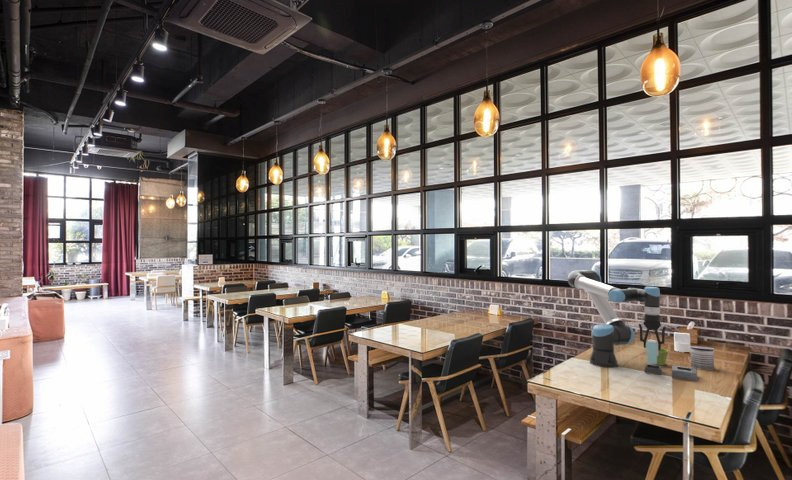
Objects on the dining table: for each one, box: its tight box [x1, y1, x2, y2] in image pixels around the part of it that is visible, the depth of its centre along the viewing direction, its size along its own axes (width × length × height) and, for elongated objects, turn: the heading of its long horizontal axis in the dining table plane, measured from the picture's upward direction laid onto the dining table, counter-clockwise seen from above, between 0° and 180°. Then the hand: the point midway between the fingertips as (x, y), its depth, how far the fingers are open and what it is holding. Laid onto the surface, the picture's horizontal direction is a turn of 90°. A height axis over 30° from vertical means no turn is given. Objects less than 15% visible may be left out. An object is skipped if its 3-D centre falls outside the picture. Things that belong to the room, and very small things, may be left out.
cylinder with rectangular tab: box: [673, 331, 691, 353], centre depth 276 cm, size 9×9×12 cm
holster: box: [644, 363, 663, 376], centre depth 231 cm, size 8×8×3 cm
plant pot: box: [656, 348, 669, 366], centre depth 246 cm, size 9×9×9 cm
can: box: [690, 345, 715, 371], centre depth 240 cm, size 11×11×12 cm
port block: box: [671, 365, 698, 382], centre depth 223 cm, size 11×11×4 cm
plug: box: [646, 339, 658, 365], centre depth 232 cm, size 4×4×13 cm
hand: (652, 354), depth 232 cm, fingers closed on plug, 4 cm apart
